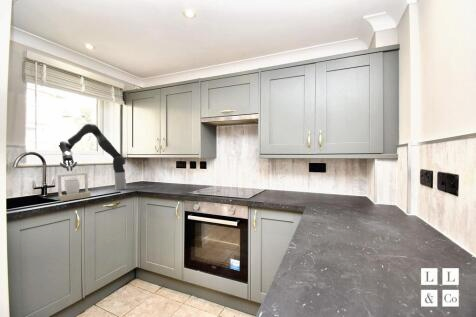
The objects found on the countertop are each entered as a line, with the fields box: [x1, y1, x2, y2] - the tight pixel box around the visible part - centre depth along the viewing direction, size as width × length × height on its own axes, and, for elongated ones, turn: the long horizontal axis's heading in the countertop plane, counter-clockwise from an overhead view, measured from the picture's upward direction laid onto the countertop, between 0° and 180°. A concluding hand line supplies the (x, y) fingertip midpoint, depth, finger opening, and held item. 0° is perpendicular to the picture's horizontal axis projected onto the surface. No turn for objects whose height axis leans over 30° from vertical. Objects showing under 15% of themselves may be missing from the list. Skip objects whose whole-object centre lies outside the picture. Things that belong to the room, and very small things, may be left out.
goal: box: [57, 172, 92, 201], centre depth 178 cm, size 14×20×20 cm
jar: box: [64, 177, 81, 195], centre depth 188 cm, size 11×10×15 cm
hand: (69, 170), depth 196 cm, fingers closed
